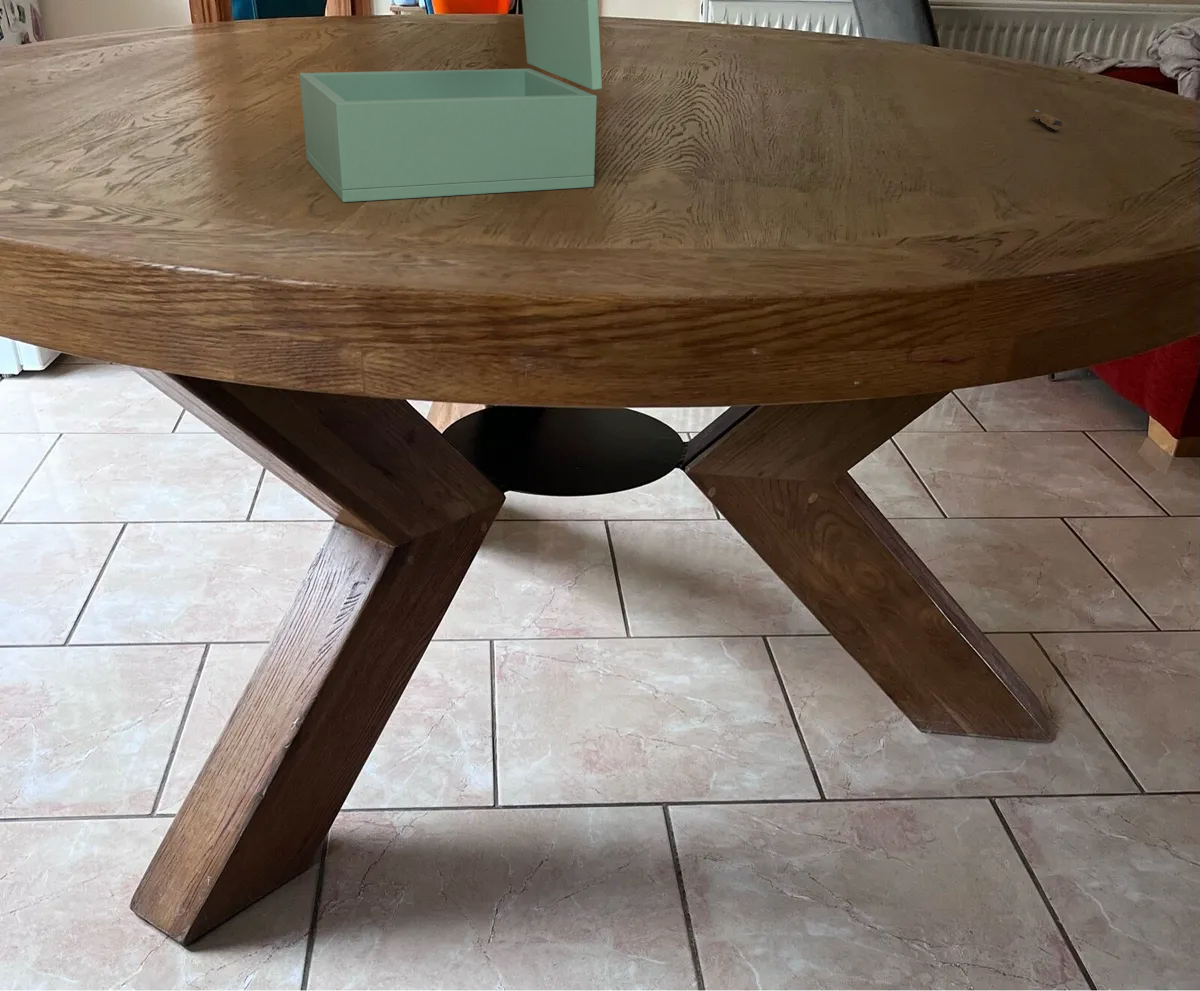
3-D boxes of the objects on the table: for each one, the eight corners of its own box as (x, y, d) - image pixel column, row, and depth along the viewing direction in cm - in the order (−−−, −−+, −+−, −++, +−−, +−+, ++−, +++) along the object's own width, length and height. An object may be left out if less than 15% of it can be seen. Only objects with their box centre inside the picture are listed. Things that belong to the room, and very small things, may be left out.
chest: (342, 202, 81) (335, 103, 78) (306, 160, 93) (299, 72, 90) (594, 187, 88) (597, 95, 85) (530, 150, 100) (531, 68, 97)
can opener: (1061, 132, 118) (1064, 120, 117) (1038, 130, 118) (1041, 119, 117) (1045, 118, 126) (1048, 107, 125) (1024, 116, 126) (1026, 106, 125)
